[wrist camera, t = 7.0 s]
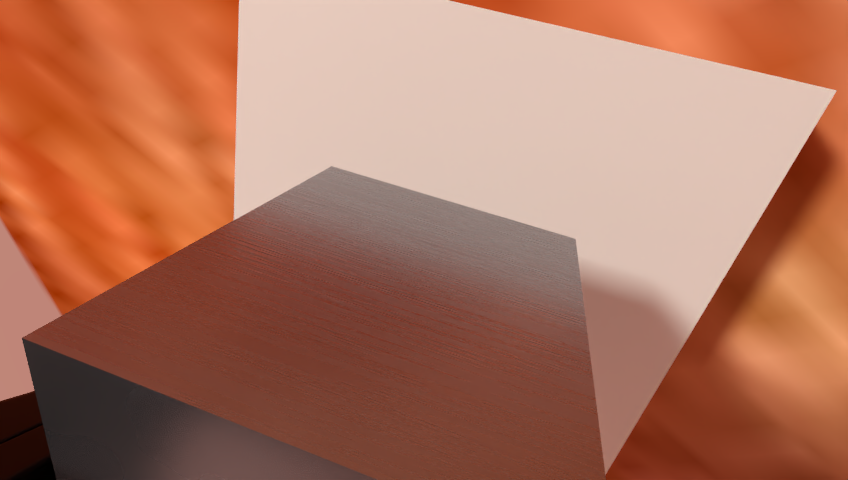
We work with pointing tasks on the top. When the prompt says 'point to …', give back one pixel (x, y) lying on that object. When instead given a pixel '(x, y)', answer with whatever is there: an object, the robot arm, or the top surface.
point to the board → (532, 150)
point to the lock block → (331, 350)
